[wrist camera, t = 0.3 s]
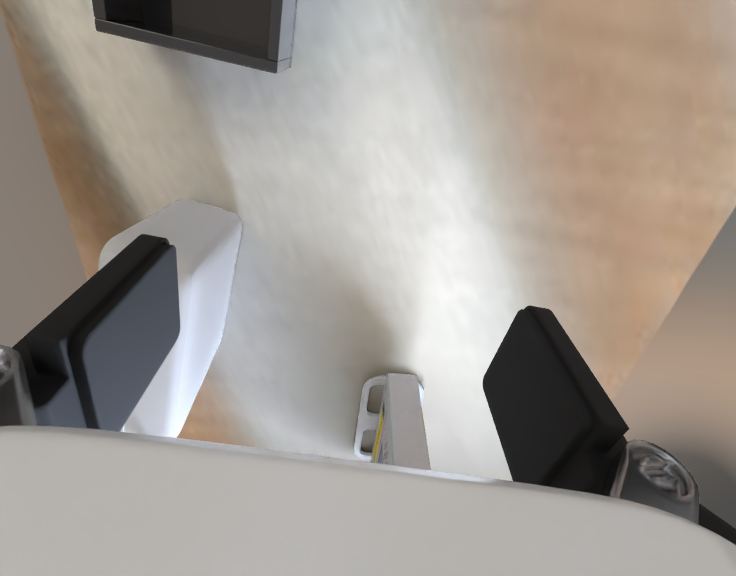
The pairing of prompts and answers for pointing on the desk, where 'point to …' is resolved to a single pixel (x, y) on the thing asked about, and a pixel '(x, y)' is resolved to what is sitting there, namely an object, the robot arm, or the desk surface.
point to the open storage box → (207, 28)
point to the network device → (395, 423)
